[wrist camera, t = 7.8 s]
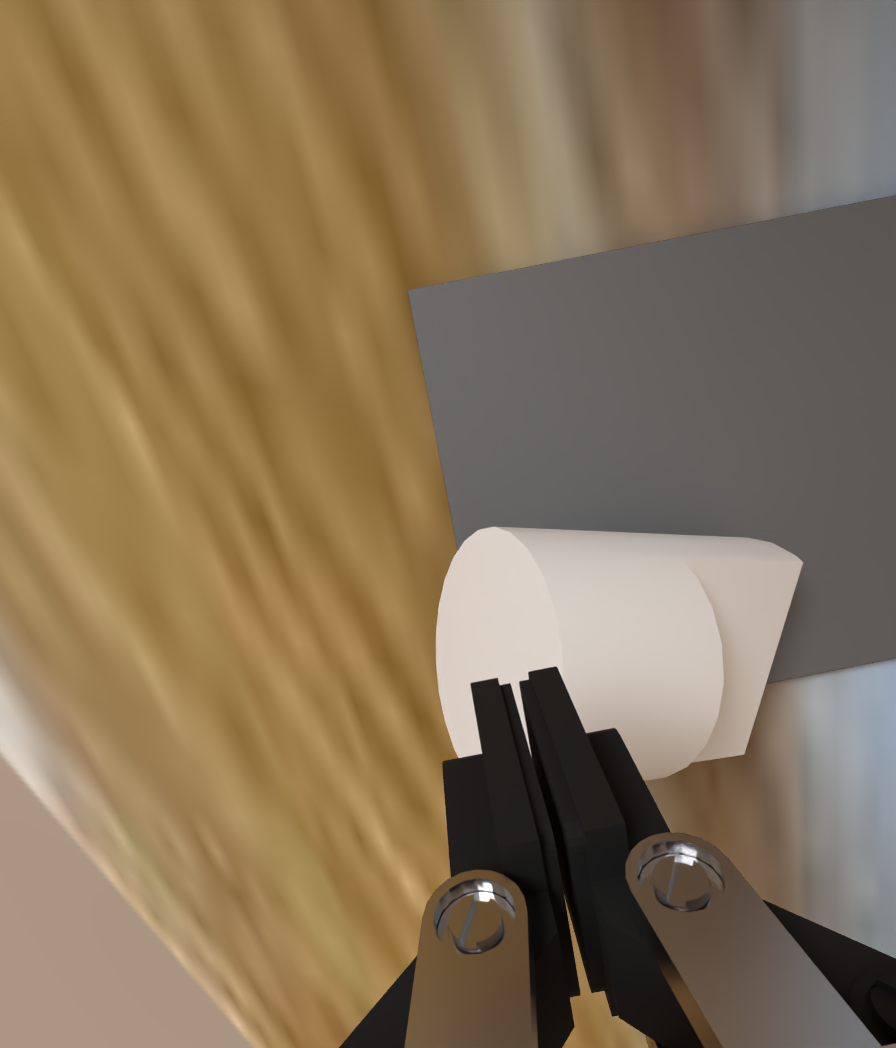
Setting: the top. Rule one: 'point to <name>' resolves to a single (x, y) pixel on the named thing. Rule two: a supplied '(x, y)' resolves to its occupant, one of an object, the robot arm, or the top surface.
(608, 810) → the robot arm
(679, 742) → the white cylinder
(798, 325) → the mat
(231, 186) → the top surface
